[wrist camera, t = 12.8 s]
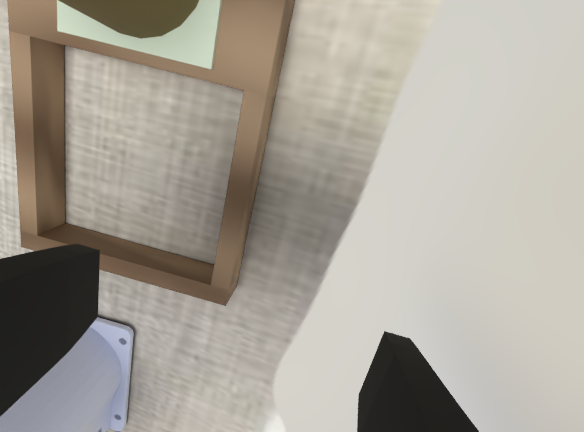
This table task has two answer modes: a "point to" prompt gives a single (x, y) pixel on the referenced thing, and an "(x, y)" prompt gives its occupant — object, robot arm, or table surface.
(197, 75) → the well board
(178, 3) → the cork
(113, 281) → the table surface
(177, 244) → the table surface
